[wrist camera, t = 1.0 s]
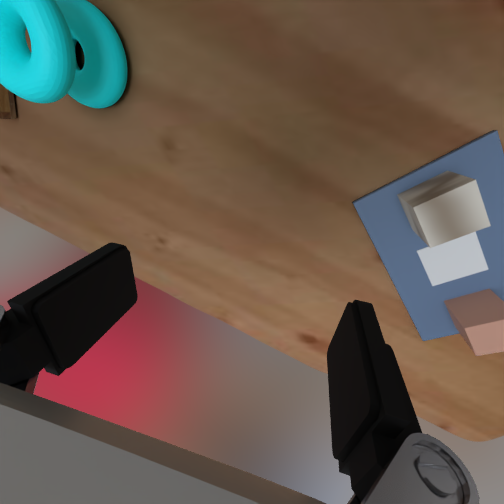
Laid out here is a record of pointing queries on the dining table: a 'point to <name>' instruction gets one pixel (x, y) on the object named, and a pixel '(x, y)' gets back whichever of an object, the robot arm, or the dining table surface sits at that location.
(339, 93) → the dining table surface
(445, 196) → the cream block
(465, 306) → the terracotta block
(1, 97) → the tray
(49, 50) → the donuts
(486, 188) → the board
